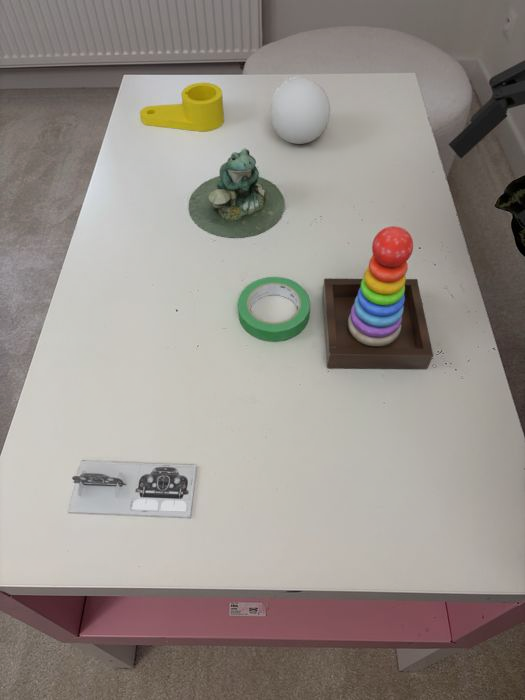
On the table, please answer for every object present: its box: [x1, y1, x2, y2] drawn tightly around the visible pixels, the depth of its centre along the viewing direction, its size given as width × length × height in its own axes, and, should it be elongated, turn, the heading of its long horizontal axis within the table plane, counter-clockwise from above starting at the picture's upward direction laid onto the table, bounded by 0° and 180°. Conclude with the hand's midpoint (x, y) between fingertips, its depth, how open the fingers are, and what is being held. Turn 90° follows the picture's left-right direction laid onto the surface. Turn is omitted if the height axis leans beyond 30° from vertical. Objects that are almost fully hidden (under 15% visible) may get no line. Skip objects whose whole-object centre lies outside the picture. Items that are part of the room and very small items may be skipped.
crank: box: [139, 82, 225, 132], centre depth 110 cm, size 18×8×6 cm, turn 87°
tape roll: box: [237, 276, 311, 342], centre depth 80 cm, size 11×11×3 cm
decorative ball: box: [269, 76, 331, 145], centre depth 103 cm, size 12×12×12 cm
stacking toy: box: [348, 225, 414, 347], centre depth 71 cm, size 8×8×19 cm
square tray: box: [321, 278, 434, 370], centre depth 78 cm, size 14×14×4 cm
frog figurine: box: [188, 147, 286, 239], centre depth 92 cm, size 18×18×12 cm
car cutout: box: [67, 460, 198, 519], centre depth 63 cm, size 15×7×4 cm, turn 88°
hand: (486, 185), depth 59 cm, fingers open, 13 cm apart
